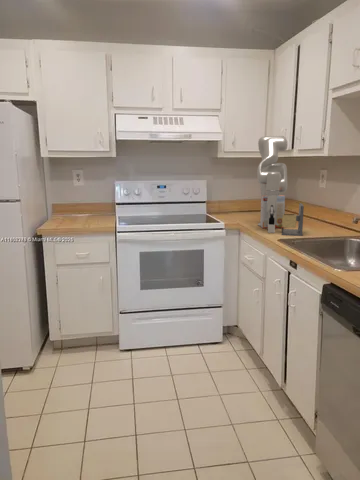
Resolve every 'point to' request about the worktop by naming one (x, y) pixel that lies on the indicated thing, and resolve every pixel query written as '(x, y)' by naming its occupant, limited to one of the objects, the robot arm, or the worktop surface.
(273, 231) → the rail post
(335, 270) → the worktop surface
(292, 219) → the cup bracket
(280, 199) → the cracker box
